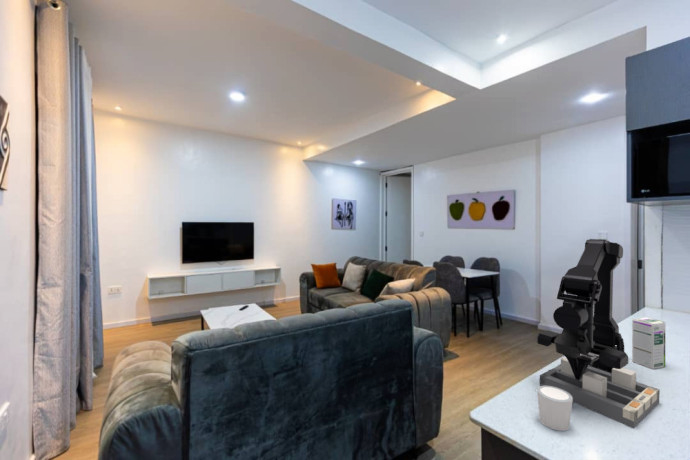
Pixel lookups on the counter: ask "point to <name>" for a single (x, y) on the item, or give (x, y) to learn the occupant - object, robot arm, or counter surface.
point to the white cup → (554, 407)
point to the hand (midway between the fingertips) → (578, 379)
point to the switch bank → (619, 400)
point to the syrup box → (648, 342)
